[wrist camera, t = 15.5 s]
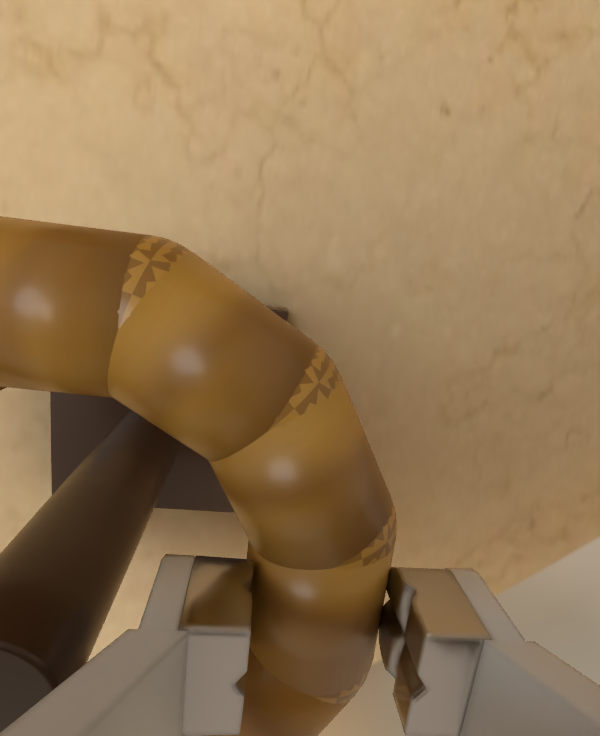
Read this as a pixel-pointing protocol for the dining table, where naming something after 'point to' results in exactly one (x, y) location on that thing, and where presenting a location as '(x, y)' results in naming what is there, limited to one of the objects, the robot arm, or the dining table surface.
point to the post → (87, 538)
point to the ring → (222, 438)
